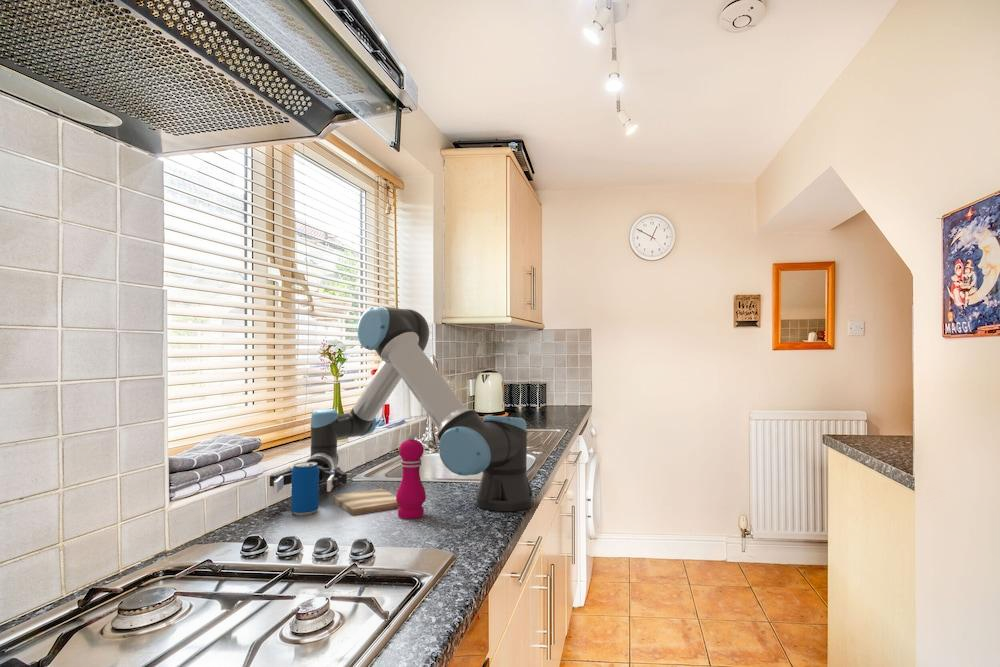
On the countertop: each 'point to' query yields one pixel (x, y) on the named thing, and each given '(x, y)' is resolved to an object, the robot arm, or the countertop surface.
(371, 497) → the wooden cutting board
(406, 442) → the pepper mill
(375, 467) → the countertop surface
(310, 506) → the beverage can
